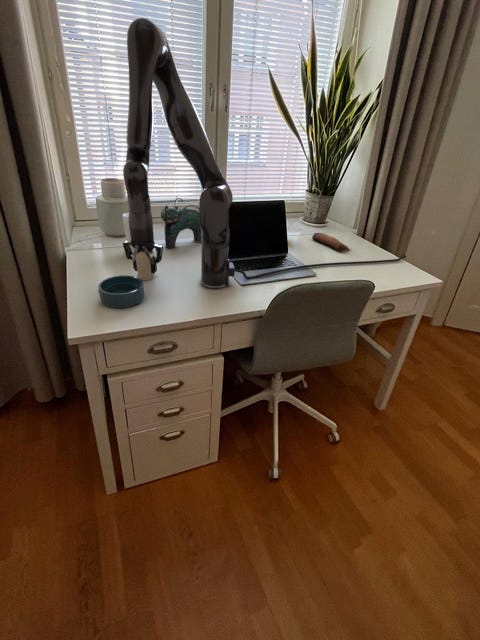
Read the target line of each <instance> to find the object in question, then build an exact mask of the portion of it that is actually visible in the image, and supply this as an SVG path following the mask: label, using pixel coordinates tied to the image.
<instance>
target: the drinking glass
mask: <svg viewBox="0 0 480 640" xmlns="http://www.w3.org/2000/svg"><path fill="white" fill-rule="evenodd" d="M122 225H123V229H124V234H125V239H126V240H125V241H131V236H130V227H129V212H125V213H123V214H122ZM131 250H132V254H133V253H134V248H133V247H132V246H131Z"/></svg>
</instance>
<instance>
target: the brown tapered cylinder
mask: <svg viewBox="0 0 480 640" xmlns="http://www.w3.org/2000/svg"><path fill="white" fill-rule="evenodd" d="M311 239H312V240H313V241H317V242H319V243H322V244H324V245H327V246H329V247H330V248H333V249H335V250H337V251H338V252H339V253H342V252H348V251H350V249H351V248H349V246H348V245H346V244H344V243H343V242H341V241H340V240H339V239H338V238H336V237H334V236H331V235H330V234H327V233H323V232H314V234H312V236H311Z"/></svg>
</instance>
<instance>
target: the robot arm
mask: <svg viewBox="0 0 480 640" xmlns="http://www.w3.org/2000/svg"><path fill="white" fill-rule="evenodd" d="M126 48H127V49H126V51H127V52H126V53H127V63H128V111H127V124H126V138H125V139H126V140H125V141H126V145H127V147H126V158H125V163H124V165H123V169H122V175H123V182H124V188H125V192H126V201H127V209H128V213H129V227H130V236H131V241H127V240H125V241H124V242H122V247H123V250H124V253H125V257H126V259H127V260H130V261H132V267H133V268H132V269H133V270H134V271H135V272H137V263H136V255H137V253H138V252H140V251H141V252H145V253H146V255H147V257H148V259H150V262H151V273H152V274H154V275H155V274H156V272H157V271H158V264H160V262H162V260H163V253H164V245H163V244H160V245H159V244H156V243H155V236H154V223H153V222H154V221H153V214H152V205H151V196H150V194H149V181H148V179H149V178H148V176H149V172H150V171H149V169H150V155H151V153H150V151H151V146H152V140H153V131H154V106H153V105H154V103H153V84H154V87H155V88H156V91H157V93H158V96H159V100H160V104H161V109H162V113H163V116H164V120H165V123H166V126H167V128H168V131H169V133H170V135H171V137H172V139H173V142H174V144H175V145H176V147H177V149H178V151H179V152H180V154H181V155H182V156H183V157H184V159H185V160H186V161H187V162H188V164H189V165H190V167H191V168H192V169H193V171H194V172H195V174H196V177H197V179H198V181H199V183H200V185H201V188H202V192H201V193H200V195H199V199H198V200H199V201H198V208H199V210H198V212H199V217H200V228H201V242H200V243H201V247H200V248H201V254H200V255H201V257H200V258H201V264H200V266H201V270H200V273H201V277H200V279H201V280H200V284H201V285H202V286H203V287H205V288H208V289H215V290H216V289H223V288H225V287H229V285H230V284H229V282H230V277H235V272H237V273H240V274H242V275H243V278H245V279H247V280H250V279H257V278H260V277H264V276H269V275H273V274H277V273H282V272H288V271H293V270H298V269H299V270H300V269H306V268H314V267H324V266H339V265H360V264H361V265H362V264H379V263H392V262H393V263H394V262H399V261H401V260H402V259H403V258H404V259H405V258H407V255H406V254H402V255H401V256H400V257H399V258H394V259H393V258H392V259H381V260H380V259H379V260H378V259H377V260H363V261H360V260H359V261H340V262H326V263H325V262H324V263H313V264H305V265H299V266H293V267H286V268H281V269H277V270H272V271H269V272H263V273H258V274H256V275H251V276H249V275H247V273H246V272H245V271H243V270H241V269H238V268H236V267H235V265H234V263H233V262H231V261H230V258H229V257H230V234H231V230H230V229H231V228H230V226H229V218H230V217H229V216H230V215H229V214H230V213H229V211H230V208H231V207H232V204H233V200H234V197H233V196H234V195H233V191H232V189H231V188H230V185H229V184H228V182H227V180H226V179H225V176H224V174H223V172H222V171H221V168H220V167H219V165H218V163H217V161H216V158H215V155H214V152H213V149H212V147H211V144H210V142H209V139H208V137H207V133H206V131H205V129H204V127H203V124H202V122H201V119H200V117H199V114H198V112H197V110H196V108H195V106H194V103H193V102H192V100H191V98H190V95H189V94H188V91H187V90H186V88H185V86H184V83H183V82H182V79H181V77H180V75H179V72H178V68H177V66H176V63H175V59H174V57H173V54H172V51H171V47H170V44H169V41H168V38H167V37H166V35H165V33H164V32H163V30H162V29H161V28H160V27H159V26H157V24H155V22H153V21H151V20H150V19H148V18H145V17H138V18H135V19H134V20H133V21H132V22H131V23H130V24H129V26H128V28H127V33H126ZM131 246H132V247H133V248H134V253H132V250H131ZM154 250H155V251H154ZM155 252H156V253H155ZM150 253H151V255H150Z"/></svg>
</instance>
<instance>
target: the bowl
mask: <svg viewBox="0 0 480 640" xmlns="http://www.w3.org/2000/svg"><path fill="white" fill-rule="evenodd" d="M97 289H98V295H99V300H100V302H101V303H102V304H103V305H104V306H107V307H109V308H110V307H111V308H119V309H121V308H122V309H123V308H129V307H132V306H135V305H137V304H139V303H141V302H142V301H143V300H145V286H144V280H142V279H139V278H138V276H134V275H126V274H125V275H124V274H123V275H114V276H110V277H107V278H105V279H103V280H102V281H100V282H99V283H98V285H97Z"/></svg>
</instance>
